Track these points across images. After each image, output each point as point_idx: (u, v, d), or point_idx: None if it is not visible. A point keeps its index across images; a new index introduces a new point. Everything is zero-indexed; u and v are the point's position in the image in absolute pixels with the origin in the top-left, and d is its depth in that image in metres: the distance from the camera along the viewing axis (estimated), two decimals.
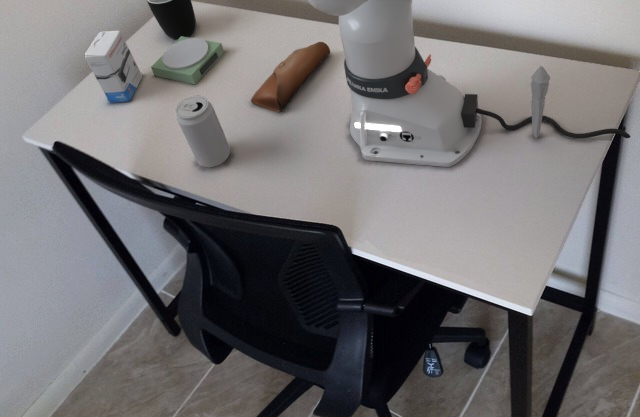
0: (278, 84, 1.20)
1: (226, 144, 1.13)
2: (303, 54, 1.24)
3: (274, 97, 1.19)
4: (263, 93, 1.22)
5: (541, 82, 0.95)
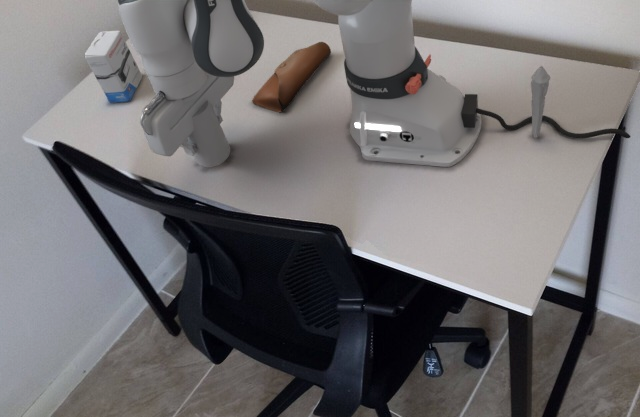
0: (279, 84, 1.20)
1: (226, 144, 1.13)
2: (304, 54, 1.24)
3: (276, 98, 1.19)
4: (265, 94, 1.22)
5: (541, 82, 0.95)
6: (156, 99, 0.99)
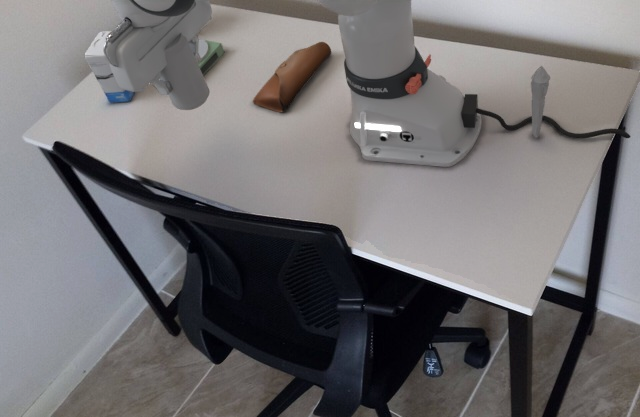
0: (280, 84, 1.20)
1: (204, 84, 1.03)
2: (304, 54, 1.24)
3: (276, 98, 1.19)
4: (265, 94, 1.22)
5: (541, 82, 0.95)
6: (121, 25, 0.90)
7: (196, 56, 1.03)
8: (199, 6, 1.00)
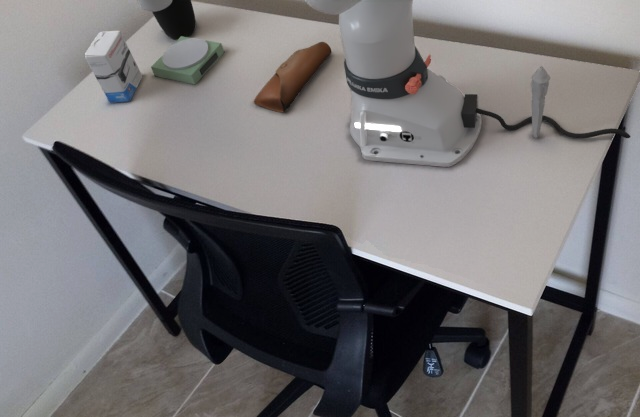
0: (281, 85, 1.19)
1: None
2: (305, 54, 1.24)
3: (277, 98, 1.19)
4: (266, 94, 1.22)
5: (541, 82, 0.95)
6: None
7: None
8: None
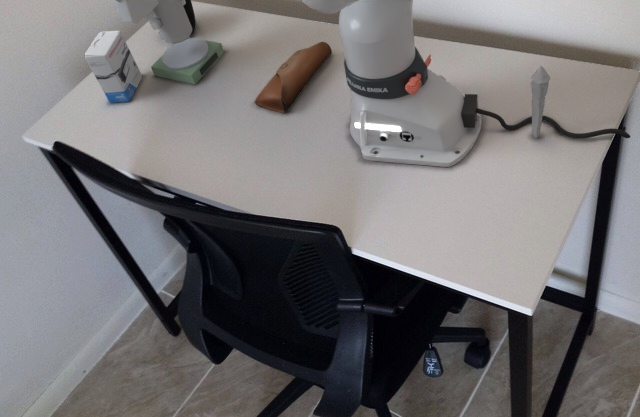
0: (282, 85, 1.19)
1: (188, 22, 1.29)
2: (305, 54, 1.24)
3: (278, 98, 1.19)
4: (267, 94, 1.21)
5: (541, 82, 0.95)
6: None
7: (182, 0, 1.29)
8: None
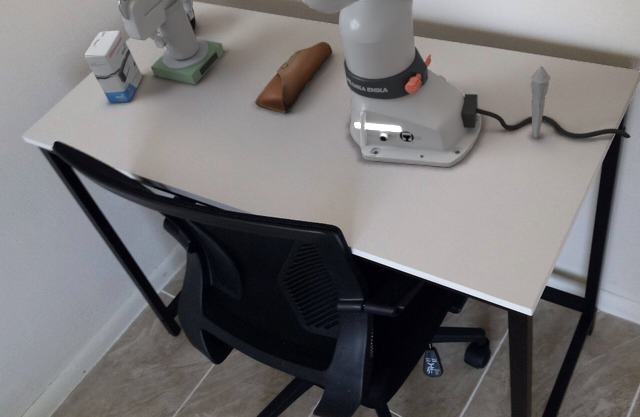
0: (283, 85, 1.19)
1: (195, 39, 1.32)
2: (306, 54, 1.24)
3: (279, 98, 1.19)
4: (268, 95, 1.21)
5: (541, 82, 0.95)
6: None
7: (191, 13, 1.32)
8: None
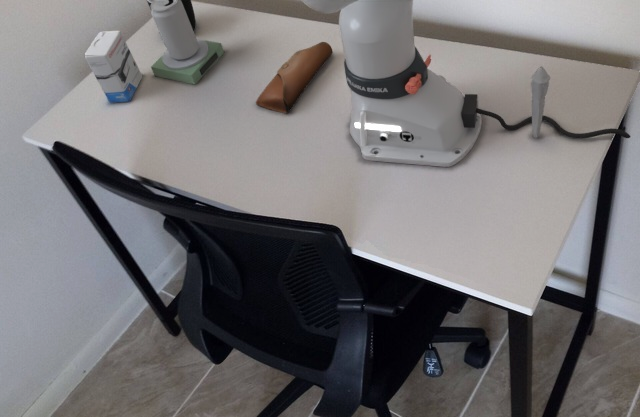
0: (284, 85, 1.19)
1: (195, 39, 1.32)
2: (306, 54, 1.24)
3: (280, 99, 1.19)
4: (269, 95, 1.21)
5: (541, 82, 0.95)
6: None
7: None
8: None
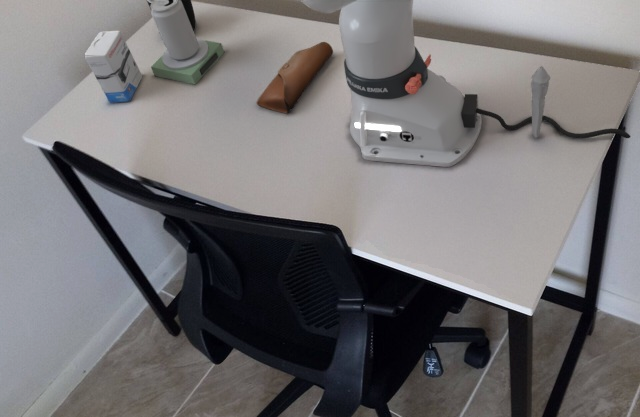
0: (285, 85, 1.19)
1: (195, 39, 1.32)
2: (307, 55, 1.24)
3: (281, 99, 1.19)
4: (269, 95, 1.21)
5: (541, 82, 0.95)
6: None
7: None
8: None
